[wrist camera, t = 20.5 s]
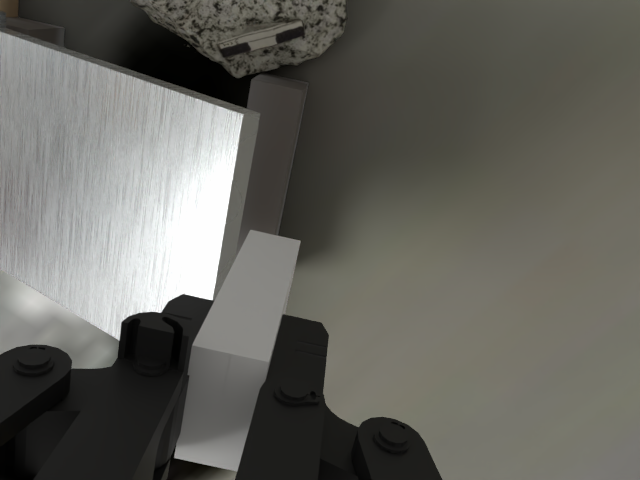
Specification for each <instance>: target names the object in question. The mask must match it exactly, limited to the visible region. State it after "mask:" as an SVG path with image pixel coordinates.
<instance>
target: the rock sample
mask: <svg viewBox="0 0 640 480" xmlns="http://www.w3.org/2000/svg"><path fill="white" fill-rule="evenodd" d="M129 1H130V2H131V3H132V4H133V5H134V6H136V7H139V8H141V9H143V10H144V11H145V12H146V13H147V14H148V16H149V17H150V19H151V20H152V21H153V22H154V23H157V24H159V25H162V26H163V27H165V28H167V29H168V30H170V31H171V32H173V33H175V34H176V35H178V36H180V37H182V38H184V39H185V40H187V41H188V42H189V43H190V44H191V45H192V46H193V47H194V48H195V49H196V50H197V51H198V52H200V53H201V54H202V55H204V56H206V57H208V58H209V59H210V60H212V61H215V62H217V63H219V64H221V65H222V66H223V67H224V68H225V69H226V70H227V71H228V72H229V73H230V74H231V75H232V76H234V77H236V78H241V77H243V76H245V75H249V74H255V73H257V72H263V71H268V70H272V69H276V68H280V67H282V66H284V65H294V66H298V65H299V64H300V63H302V62H303V61H305V60H308V59H313V58H317V57H319V56H320V55H321V54H323V53H324V52H325V51H326V50H327V48H328V47H329V46H331V45H332V44H334V43H335V41H336V39H337V38H340V37H341V35H342V34H343V32H344V29H345V24H346V20H347V13H346V0H129ZM336 42H337V41H336ZM184 45H185V44H184ZM187 46H188V45H187ZM188 47H189V46H188Z"/></svg>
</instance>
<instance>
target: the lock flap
mask: <svg viewBox="0 0 640 480" xmlns="http://www.w3.org/2000/svg"><path fill="white" fill-rule="evenodd" d="M259 119H260V113H258V112H255V111H252V110H249V109H246V108H243V107H240V106H237V105H234V104H231V103H228V102H225V101H222V100H219V99H216V98H213V97H210V96H207V95H204V94H201V93H198V92H195V91H192V90H189V89H186V88H183V87H180V86H177V85H174V84H171V83H168V82H165V81H162V80H159V79H156V78H153V77H150V76H147V75H144V74H141V73H139V72H136V71H133V70H130V69H127V68H124V67H121V66H118V65H115V64H112V63H109V62H106V61H103V60H100V59H97V58H94V57H91V56H88V55H85V54H82V53H79V52H76V51H73V50H70V49H67V48H64V47H61V46H58V45H55V44H52V43H49V42H46V41H43V40H40V39H37V38H34V37H31V36H28V35H25V34H22V33H19V32H16V31H13V30H10V29H7V28H6V12H3V11H0V269H1V270H3V271H5V272H6V273H8V274H10V275H11V276H13V277H15V278H16V279H18V280H20V281H21V282H23V283H25V284H26V285H28V286H30V287H31V288H33V289H35V290H36V291H38V292H40V293H41V294H43V295H45V296H46V297H48V298H50V299H51V300H53V301H55V302H56V303H58V304H60V305H61V306H63V307H65V308H66V309H68V310H70V311H71V312H73V313H75V314H76V315H78V316H80V317H81V318H83V319H85V320H86V321H88V322H90V323H91V324H93V325H95V326H96V327H98V328H100V329H101V330H103V331H105V332H106V333H108V334H110V335H111V336H113V337H115V338H116V339H118V340H120V331H121V322H122V321H123V320H125V319H126V318H127V317H128V316H131V315H134V314H137V313H143V312H159V313H161V312H162V310H163V309H164V307H165V306H166V304H167V303H168V301H170V300H172V299H174V298H176V297H178V296H180V295H181V294H186V295H191V296H195V297H200V298H204V299H209V300H213V301H215V299H216V297H217V295H218V293H219V291H220V289H221V287H222V285H223V283H224V281H225V279H226V277H227V275H228V273H229V271H230V269H231V267H232V265H233V263H234V261H235V255H236V250H237V244H238V238H239V232H240V227H241V221H242V215H243V210H244V204H245V198H246V193H247V187H248V181H249V176H250V170H251V164H252V159H253V153H254V147H255V142H256V136H257V130H258V125H259Z"/></svg>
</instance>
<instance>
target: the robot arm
mask: <svg viewBox="0 0 640 480" xmlns="http://www.w3.org/2000/svg"><path fill="white" fill-rule="evenodd" d="M300 242H301V241H299V240H295V239H290V238H286V237H281V236H277V235H272V234H268V233H263V232H259V231H254V230H250V231H249V233H248V235H247V237H246V239H245V241H244V243H243V245H242V247H241V249H240V251H239V253H238V255H237V257H236V259H235V261H234V263H233V265H232V267H231V269H230V271H229V273H228V275H227V277H226V279H225V281H224V283H223V285H222V287H221V289H220V291H219V293H218V295H217V297H216V299H215V301H213V300H209V299H204V298H200V297H195V296H191V295H186V294H181V295H180V296H178V297H176V298H174V299H172V300H170V301H168V303H167V304H166V306H165V307H164V309H163V310H162V312H161V313H159V312H143V313H137V314H134V315H131V316H128V317H127V318H126V319H125V320H123V321H122V322H121V331H120V341H119V350H118V358H117V360H116V361H115V363H114V364H113V366H112V367H107V368H100V369H71V366H72V360H71V359H70V357H69V355H68V354H67V353H65V352H64V351H62V350H60V349H59V348H55V347H51V346H47V345H27V346H21V347H16V348H14V349H11V350H9V351H7V352H4V353H3V354H1V355H0V480H166V479H167V476H168V470H169V463H170V457H171V454H172V452H173V450H174V447H175V445H176V450H175V457H174V458H177V459H182V460H187V461H191V462H196V463H201V464H205V465H210V466H214V467H219V468H224V469H228V470H233V471H237V475H236V478H235V480H442V478H441V476H440V474H439V472H438V470H437V468H436V465H435V463H434V461H433V459H432V457H431V455H430V453H429V450H428V448H427V446H426V444H425V442H424V440H423V439H422V438H421V436H420V435H419V434H418V432H416V431H415V430H414V429H412V428H411V427H410V426H408V425H407V424H405V423H402V422H400V421H398V420H396V419H391V418H385V417H376V418H370V419H368V420H366V421H364V422H362V423H361V425H360V427H359V428H358V427H356V426H354V425H352V424H350V423H348V422H346V421H344V420H342V419H340V418H339V417H337V416H336V415H335V414H334V413H332V412H331V410H330V409H329V408H328V407H327V406H326V404H325V399H324V395H323V387H324V377H325V367H326V356H327V347H328V337H329V335H328V333H327V331H326V329H325V328H324V326H323V324H322V323H320V322H316V321H311V320H307V319H302V318H298V317H293V316H288V315H285V312H286V307H287V302H288V298H289V293H290V289H291V284H292V279H293V275H294V270H295V265H296V261H297V256H298V252H299V247H300ZM176 443H177V444H176Z"/></svg>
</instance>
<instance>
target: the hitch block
mask: <svg viewBox="0 0 640 480" xmlns="http://www.w3.org/2000/svg"><path fill="white" fill-rule="evenodd" d="M18 3H19V0H0V11H3V12H6V28H7V29H10V30H13V31H16V32H19V33H22V34H25V35H28V36H31V37H34V38H37V39H40V40H43V41H46V42H49V43H52V44H55V45H58V46H61V47H64V34H65V27H60V26H56V25H51V24H47V23H43V22H38V21H34V20H29V19H25V18H20V17H18ZM308 85H309V83H308V82H303V81H299V80H295V79H290V78H286V77H281V76H277V75H273V74H268V73H264V72H262V73H261V74H259V75H257V76H256V77H254V78H253V79H251V85H250V91H249V97H248V103H247V109H249V110H252V111H255V112H258V113H260V119H259V125H258V130H257V136H256V142H255V147H254V153H253V159H252V164H251V170H250V176H249V181H248V187H247V193H246V198H245V204H244V210H243V215H242V221H241V227H240V232H239V238H238V244H237V250H236V255H235V259H236V257H237V255H238V253H239V251H240V249H241V247H242V245H243V243H244V241H245V239H246V237H247V235H248V233H249V231H250V230H254V231H259V232H263V233H268V234H272V235H277V236H278V234H279V229H280V224H281V219H282V214H283V209H284V204H285V199H286V194H287V189H288V184H289V179H290V174H291V169H292V164H293V159H294V154H295V149H296V144H297V139H298V134H299V129H300V124H301V119H302V114H303V109H304V104H305V99H306V94H307V89H308Z"/></svg>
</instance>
